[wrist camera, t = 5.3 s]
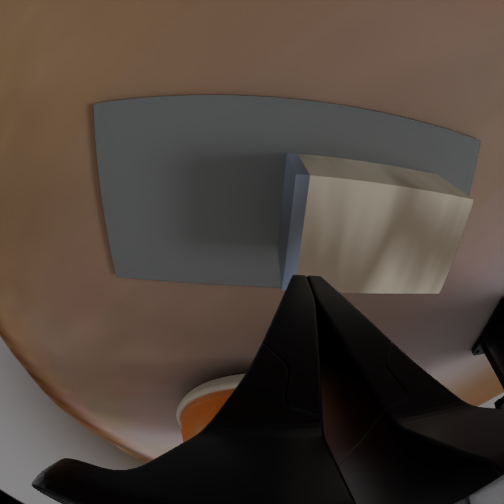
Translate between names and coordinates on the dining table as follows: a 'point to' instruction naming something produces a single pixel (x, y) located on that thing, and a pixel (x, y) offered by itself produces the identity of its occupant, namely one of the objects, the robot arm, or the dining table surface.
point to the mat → (236, 176)
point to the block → (368, 225)
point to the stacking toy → (204, 404)
